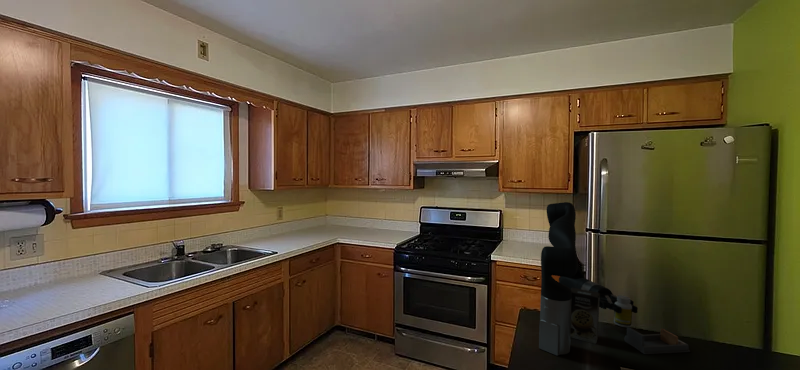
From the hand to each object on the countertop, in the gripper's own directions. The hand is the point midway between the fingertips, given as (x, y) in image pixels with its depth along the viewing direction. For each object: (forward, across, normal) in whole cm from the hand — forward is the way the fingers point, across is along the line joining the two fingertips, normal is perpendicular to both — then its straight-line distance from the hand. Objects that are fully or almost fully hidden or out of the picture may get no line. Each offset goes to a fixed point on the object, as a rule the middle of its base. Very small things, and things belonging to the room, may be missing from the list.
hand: (628, 310), depth 122 cm
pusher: (+6, +10, +9) cm, 15 cm away
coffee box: (-2, -15, +10) cm, 18 cm away
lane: (+6, +6, +10) cm, 13 cm away
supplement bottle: (-3, 0, +6) cm, 7 cm away
